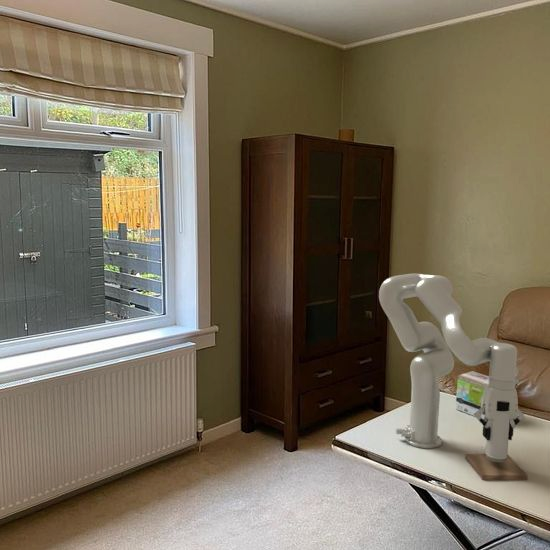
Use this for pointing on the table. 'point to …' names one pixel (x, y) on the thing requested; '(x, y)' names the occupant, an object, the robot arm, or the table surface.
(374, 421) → the table surface
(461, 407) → the tea box
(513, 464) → the walnut board
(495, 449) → the travel mug
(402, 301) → the robot arm
